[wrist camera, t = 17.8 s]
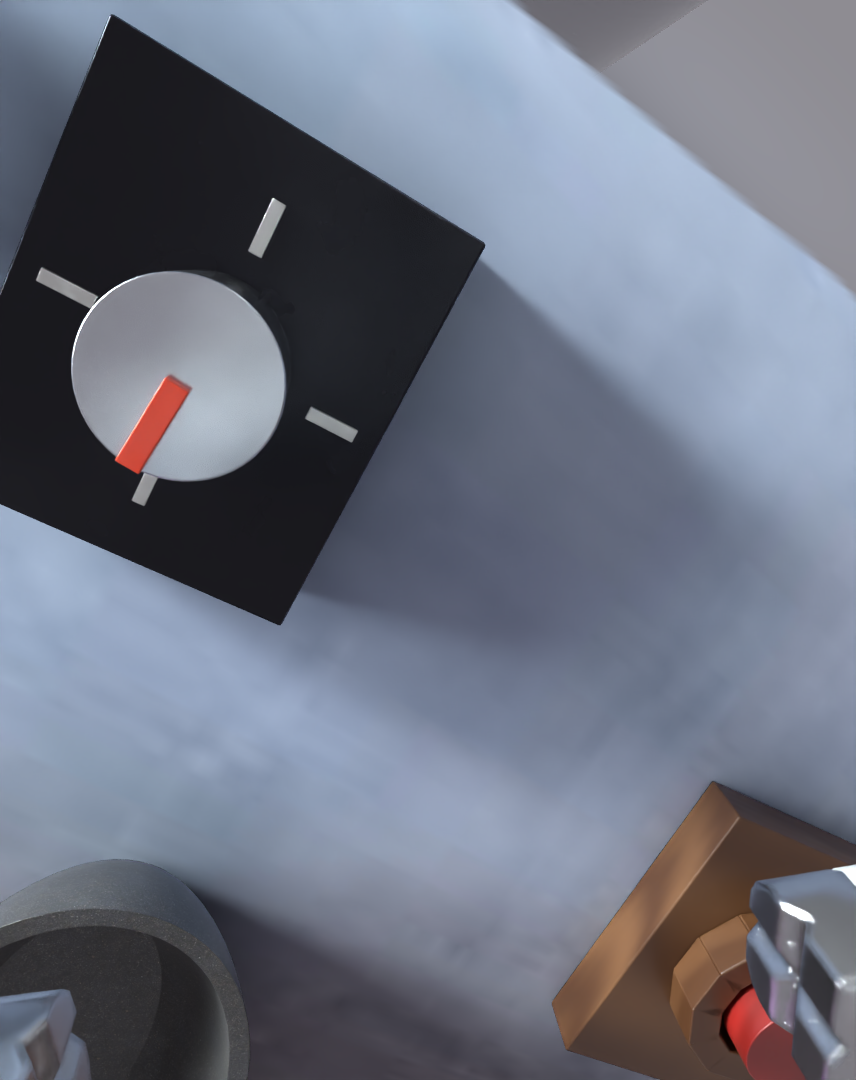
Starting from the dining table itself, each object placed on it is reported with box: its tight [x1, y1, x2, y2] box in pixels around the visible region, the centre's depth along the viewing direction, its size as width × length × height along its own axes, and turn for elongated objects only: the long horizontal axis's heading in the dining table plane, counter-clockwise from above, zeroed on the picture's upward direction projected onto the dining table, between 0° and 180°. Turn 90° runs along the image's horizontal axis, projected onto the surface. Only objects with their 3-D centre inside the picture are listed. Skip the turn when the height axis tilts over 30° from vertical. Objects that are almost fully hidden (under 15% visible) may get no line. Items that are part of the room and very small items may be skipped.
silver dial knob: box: [71, 269, 293, 482], centre depth 19 cm, size 4×4×4 cm
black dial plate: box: [0, 14, 485, 625], centre depth 22 cm, size 12×10×3 cm
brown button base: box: [552, 782, 856, 1080], centre depth 32 cm, size 12×10×4 cm
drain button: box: [724, 984, 806, 1080], centre depth 29 cm, size 4×4×2 cm
